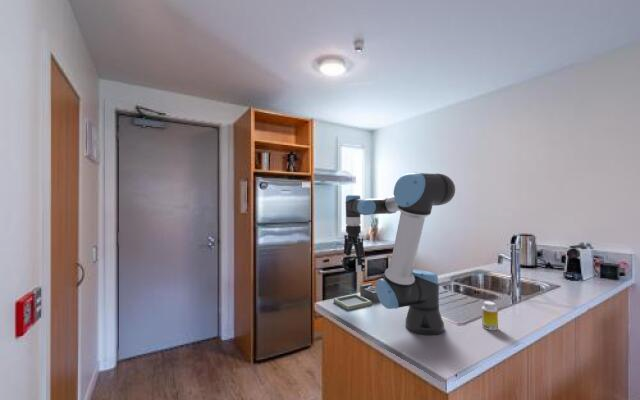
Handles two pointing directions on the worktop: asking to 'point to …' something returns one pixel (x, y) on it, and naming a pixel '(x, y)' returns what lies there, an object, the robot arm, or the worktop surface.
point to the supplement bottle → (489, 316)
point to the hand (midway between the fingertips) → (353, 269)
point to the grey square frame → (352, 302)
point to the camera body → (369, 292)
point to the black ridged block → (351, 264)
